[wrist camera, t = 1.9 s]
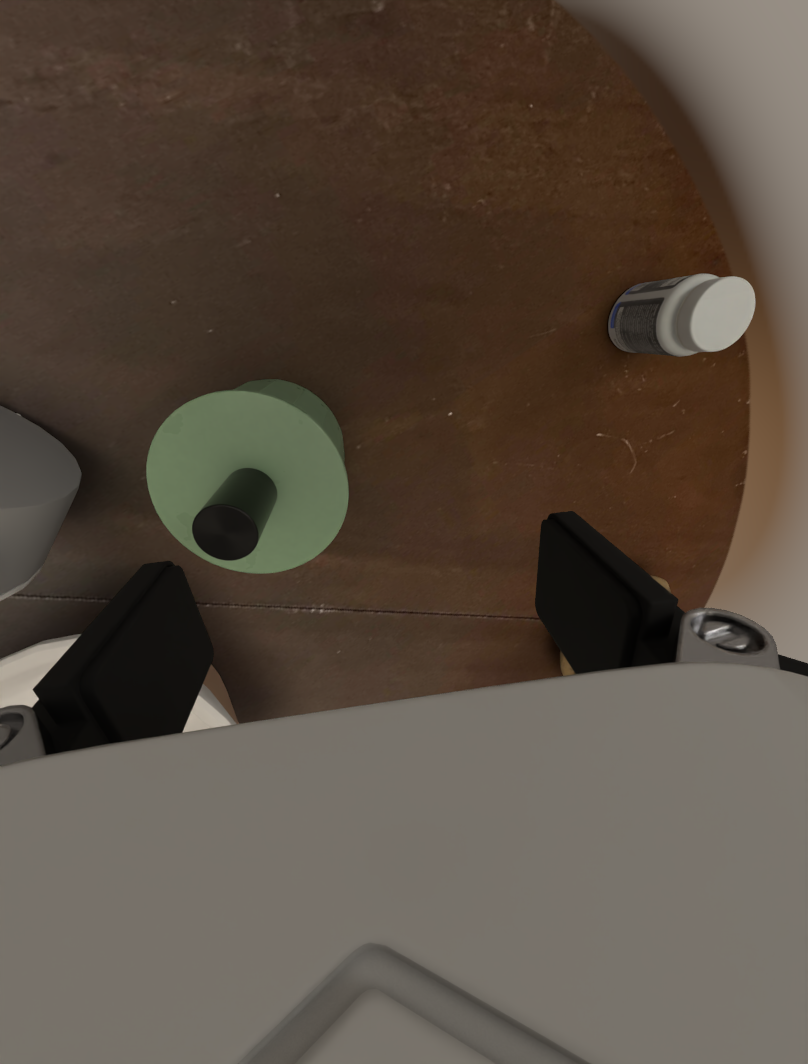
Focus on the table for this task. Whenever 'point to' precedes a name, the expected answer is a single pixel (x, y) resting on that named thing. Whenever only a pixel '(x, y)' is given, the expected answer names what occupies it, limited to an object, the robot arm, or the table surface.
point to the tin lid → (247, 481)
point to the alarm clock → (30, 497)
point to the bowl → (28, 666)
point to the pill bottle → (682, 315)
